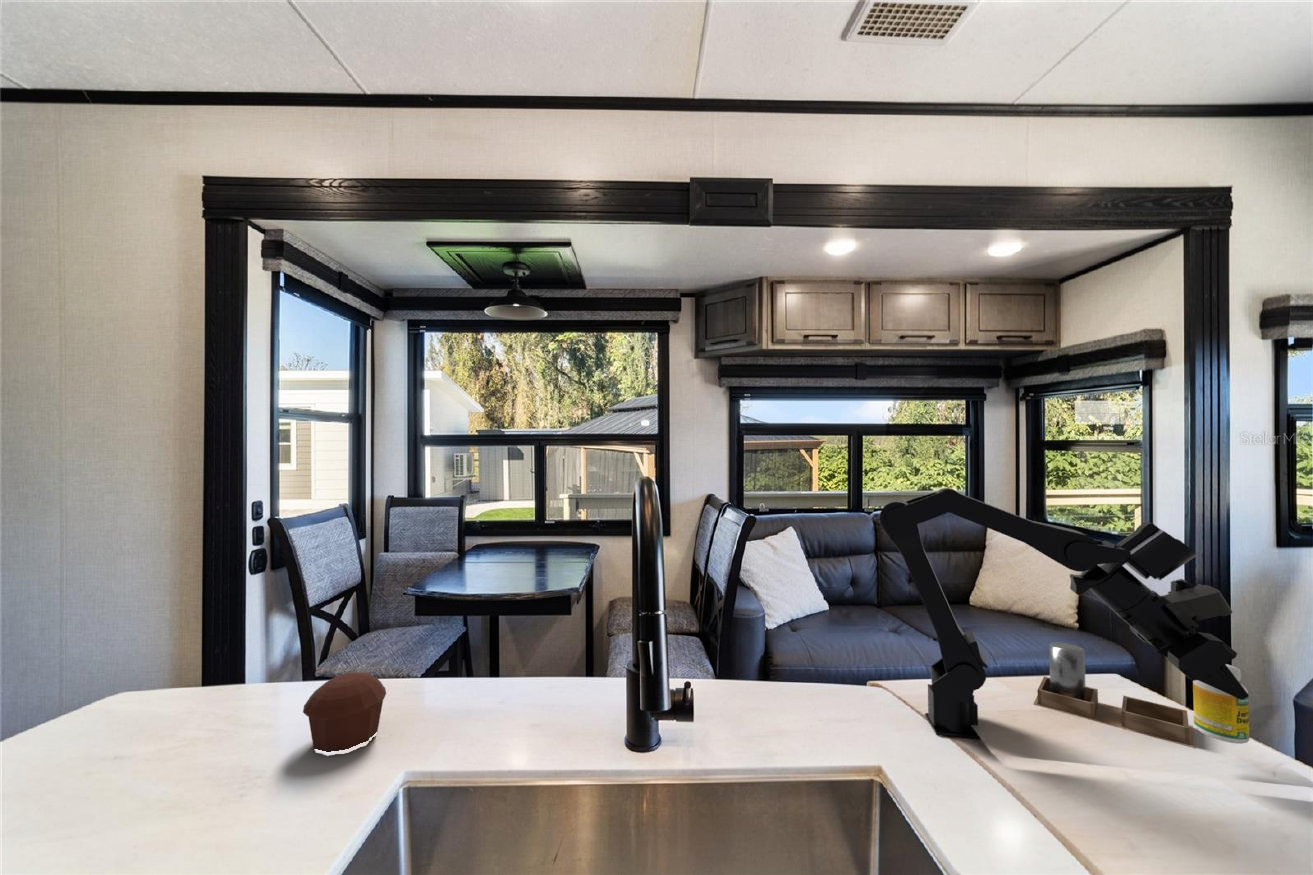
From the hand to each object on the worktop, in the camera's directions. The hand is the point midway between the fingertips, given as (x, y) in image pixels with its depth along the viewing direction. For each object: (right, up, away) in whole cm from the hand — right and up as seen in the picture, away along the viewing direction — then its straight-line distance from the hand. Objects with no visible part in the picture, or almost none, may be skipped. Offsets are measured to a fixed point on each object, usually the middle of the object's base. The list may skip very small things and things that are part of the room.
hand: (1233, 689), depth 73 cm
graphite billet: (-7, -12, +20) cm, 25 cm away
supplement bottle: (-1, -7, 0) cm, 7 cm away
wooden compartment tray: (-3, -14, +16) cm, 22 cm away
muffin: (-131, -14, +10) cm, 132 cm away
